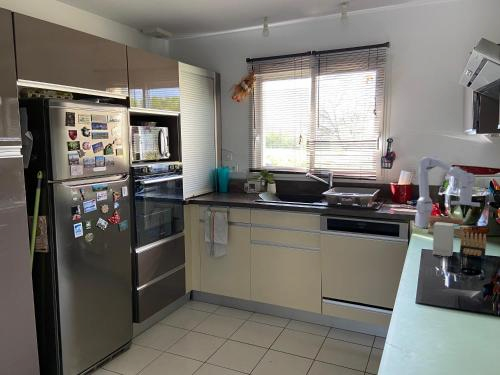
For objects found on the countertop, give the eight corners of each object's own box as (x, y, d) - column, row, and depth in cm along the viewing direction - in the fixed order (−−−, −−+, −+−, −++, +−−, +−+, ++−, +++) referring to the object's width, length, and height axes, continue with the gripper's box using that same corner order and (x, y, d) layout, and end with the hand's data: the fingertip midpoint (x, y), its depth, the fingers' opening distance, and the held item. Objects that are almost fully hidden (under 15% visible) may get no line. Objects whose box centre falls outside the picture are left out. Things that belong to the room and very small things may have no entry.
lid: (428, 222, 244) (428, 220, 244) (461, 225, 236) (461, 224, 236) (428, 216, 232) (429, 215, 233) (463, 219, 225) (463, 218, 225)
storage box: (428, 229, 244) (428, 222, 243) (461, 232, 236) (461, 225, 236) (427, 233, 233) (428, 226, 233) (462, 236, 226) (462, 230, 225)
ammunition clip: (485, 258, 186) (487, 233, 185) (484, 259, 185) (487, 234, 183) (459, 254, 192) (461, 230, 190) (459, 255, 190) (461, 231, 189)
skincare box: (452, 255, 191) (455, 223, 188) (450, 258, 185) (453, 226, 183) (433, 252, 195) (436, 221, 193) (431, 255, 190) (433, 223, 188)
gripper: (451, 194, 225) (450, 217, 227) (481, 196, 219) (479, 220, 221) (451, 192, 232) (449, 215, 233) (480, 194, 225) (477, 218, 227)
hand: (463, 217), depth 228 cm, fingers closed
